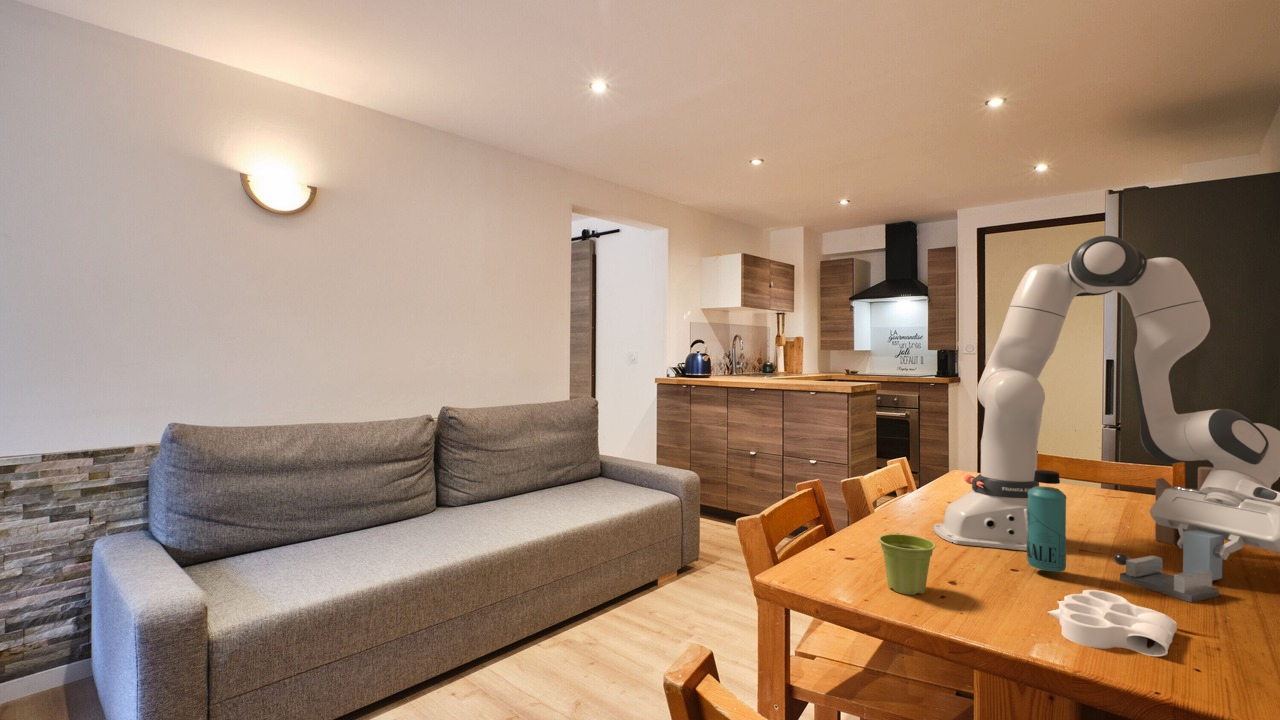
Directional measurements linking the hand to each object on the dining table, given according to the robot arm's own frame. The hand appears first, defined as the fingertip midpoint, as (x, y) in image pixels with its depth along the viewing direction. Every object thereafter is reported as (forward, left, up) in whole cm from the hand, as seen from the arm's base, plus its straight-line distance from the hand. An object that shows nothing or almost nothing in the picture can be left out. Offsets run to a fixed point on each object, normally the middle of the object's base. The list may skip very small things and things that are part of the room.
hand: (1200, 551), depth 111 cm
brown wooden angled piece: (+13, +22, -6) cm, 26 cm away
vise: (-9, -5, -5) cm, 12 cm away
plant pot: (-56, -13, -5) cm, 58 cm away
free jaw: (-12, 0, -4) cm, 12 cm away
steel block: (+1, 0, -5) cm, 5 cm away
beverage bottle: (-27, -1, -5) cm, 28 cm away
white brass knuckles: (-30, -25, -6) cm, 39 cm away
